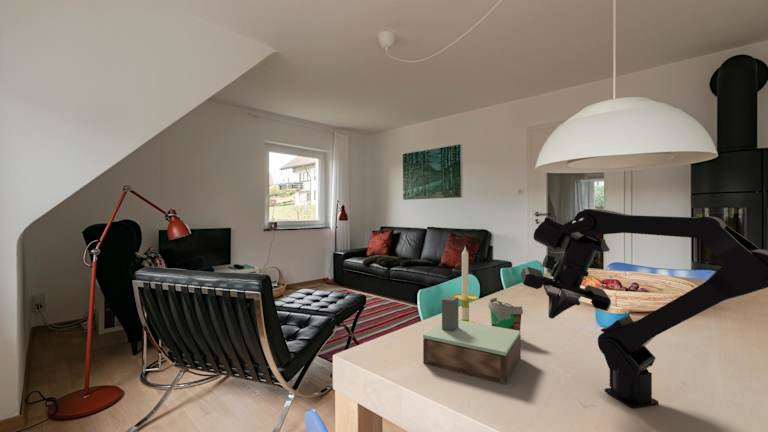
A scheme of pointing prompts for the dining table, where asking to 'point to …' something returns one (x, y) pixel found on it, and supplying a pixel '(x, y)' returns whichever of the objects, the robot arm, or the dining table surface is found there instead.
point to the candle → (465, 289)
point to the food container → (505, 315)
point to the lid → (470, 332)
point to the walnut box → (472, 360)
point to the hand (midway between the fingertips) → (550, 317)
